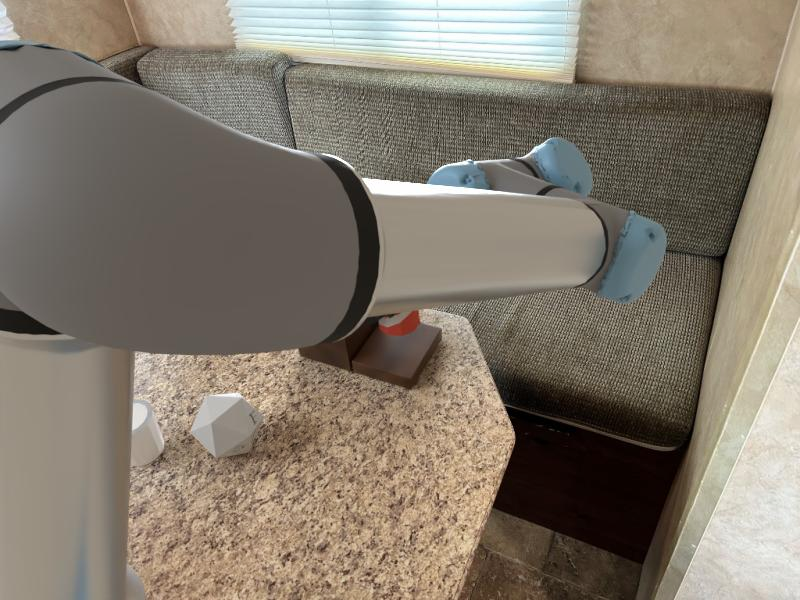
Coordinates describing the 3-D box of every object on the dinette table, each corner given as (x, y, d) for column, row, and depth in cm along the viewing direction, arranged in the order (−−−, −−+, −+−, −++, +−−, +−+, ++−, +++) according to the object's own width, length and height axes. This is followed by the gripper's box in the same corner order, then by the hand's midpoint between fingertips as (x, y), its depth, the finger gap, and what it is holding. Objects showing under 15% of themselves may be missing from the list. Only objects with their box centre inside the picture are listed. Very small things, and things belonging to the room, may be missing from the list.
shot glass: (149, 475, 83) (130, 443, 78) (108, 464, 85) (88, 432, 80) (178, 435, 88) (162, 403, 83) (139, 426, 90) (122, 394, 85)
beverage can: (372, 321, 94) (362, 258, 86) (409, 307, 95) (403, 244, 88) (388, 344, 89) (380, 280, 82) (427, 330, 91) (422, 265, 83)
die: (227, 484, 81) (258, 431, 78) (170, 450, 81) (198, 395, 77) (252, 449, 89) (281, 399, 86) (200, 418, 89) (227, 366, 85)
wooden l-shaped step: (300, 356, 98) (286, 304, 91) (337, 311, 106) (327, 260, 100) (411, 390, 91) (406, 336, 84) (442, 338, 99) (439, 286, 92)
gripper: (470, 299, 69) (363, 363, 86) (521, 213, 82) (419, 283, 99) (425, 252, 68) (325, 326, 84) (484, 173, 81) (387, 250, 97)
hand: (376, 303), depth 92 cm, fingers closed on beverage can, 6 cm apart
